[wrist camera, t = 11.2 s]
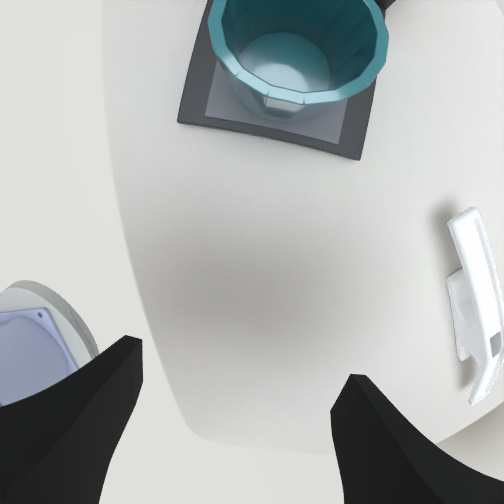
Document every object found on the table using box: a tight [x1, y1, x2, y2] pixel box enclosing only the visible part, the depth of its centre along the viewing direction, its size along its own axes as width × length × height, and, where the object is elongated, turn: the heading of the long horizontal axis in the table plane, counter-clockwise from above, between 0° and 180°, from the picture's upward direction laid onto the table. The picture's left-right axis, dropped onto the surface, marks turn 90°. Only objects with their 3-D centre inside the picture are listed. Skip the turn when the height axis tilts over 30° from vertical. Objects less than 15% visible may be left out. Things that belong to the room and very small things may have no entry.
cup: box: [208, 0, 389, 123], centre depth 10 cm, size 5×5×7 cm
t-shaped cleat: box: [446, 207, 504, 406], centre depth 17 cm, size 4×20×5 cm, turn 29°
